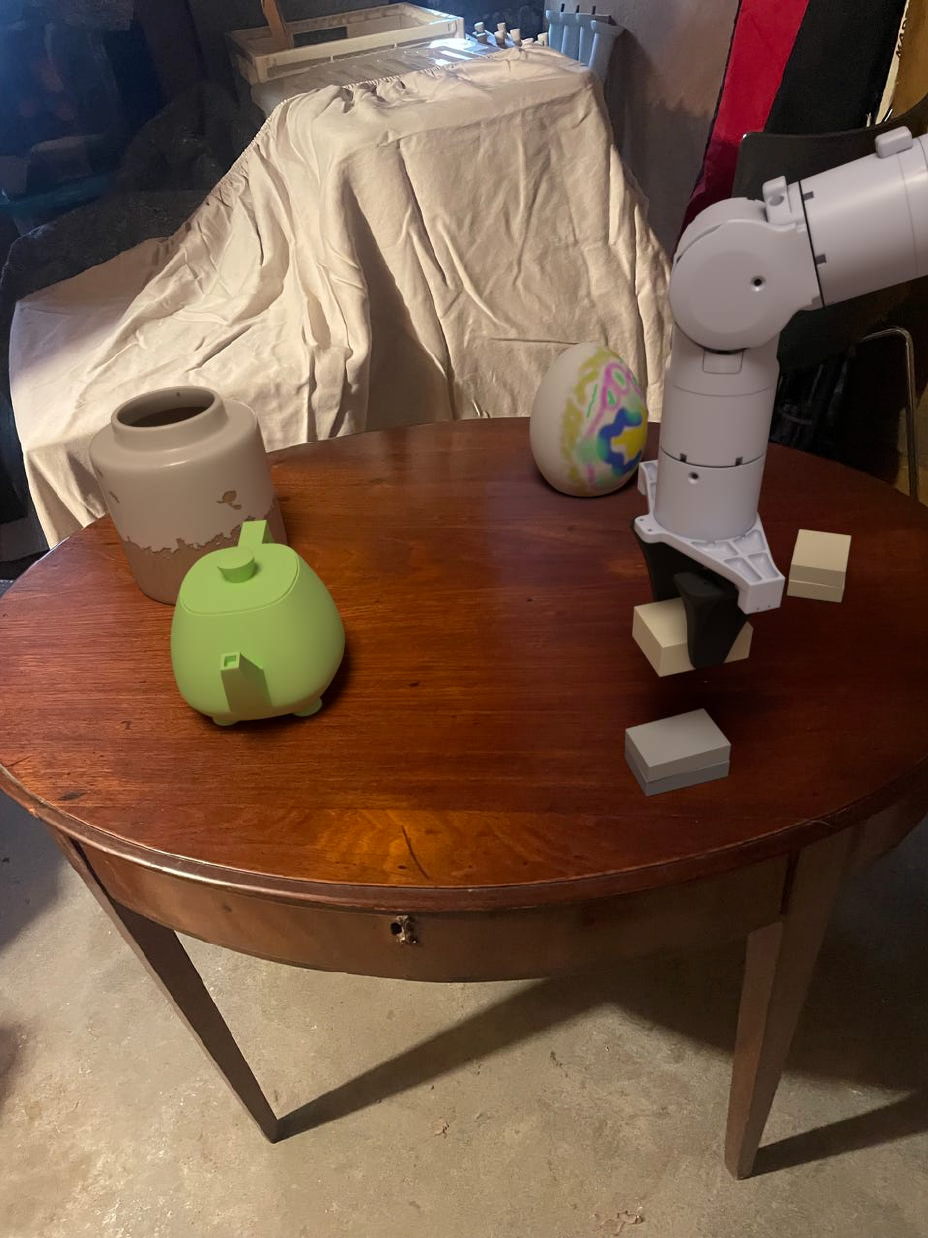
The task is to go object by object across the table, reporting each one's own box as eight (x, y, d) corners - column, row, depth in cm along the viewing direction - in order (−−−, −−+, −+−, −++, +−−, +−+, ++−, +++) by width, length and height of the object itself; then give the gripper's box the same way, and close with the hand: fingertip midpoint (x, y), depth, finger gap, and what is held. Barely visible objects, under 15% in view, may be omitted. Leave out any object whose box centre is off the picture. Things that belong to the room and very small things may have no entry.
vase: (113, 563, 90) (54, 410, 80) (246, 508, 97) (207, 361, 87) (173, 628, 80) (114, 461, 70) (317, 561, 87) (282, 401, 77)
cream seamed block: (792, 558, 80) (797, 528, 78) (845, 565, 79) (851, 534, 77) (785, 595, 76) (790, 564, 74) (841, 603, 74) (848, 572, 72)
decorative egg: (592, 519, 89) (593, 377, 80) (508, 483, 96) (500, 349, 87) (668, 475, 95) (676, 338, 86) (583, 444, 102) (583, 315, 94)
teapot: (349, 764, 64) (317, 627, 56) (166, 786, 64) (109, 651, 56) (354, 606, 80) (330, 483, 73) (208, 623, 80) (168, 502, 72)
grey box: (702, 738, 63) (705, 707, 61) (728, 777, 60) (733, 746, 58) (623, 757, 62) (624, 726, 60) (645, 798, 59) (647, 767, 57)
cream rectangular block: (716, 618, 59) (720, 588, 57) (748, 658, 55) (753, 627, 54) (631, 635, 58) (633, 606, 56) (659, 677, 54) (662, 647, 53)
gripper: (596, 404, 53) (590, 588, 61) (704, 520, 42) (680, 727, 50) (704, 387, 54) (684, 569, 62) (838, 495, 43) (793, 702, 51)
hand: (689, 638), depth 56 cm, fingers closed on cream rectangular block, 4 cm apart
